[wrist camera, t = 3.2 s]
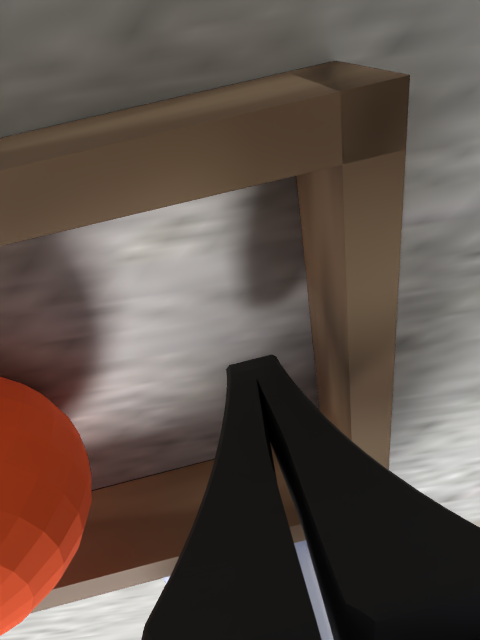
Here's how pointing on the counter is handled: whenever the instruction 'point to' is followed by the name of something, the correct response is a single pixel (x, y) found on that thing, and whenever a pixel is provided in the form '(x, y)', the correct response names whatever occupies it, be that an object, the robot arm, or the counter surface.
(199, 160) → the brown wooden frame
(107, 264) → the counter surface
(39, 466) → the clementine
